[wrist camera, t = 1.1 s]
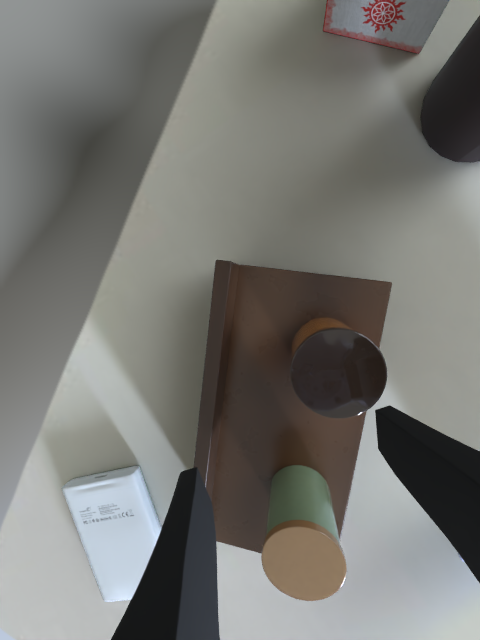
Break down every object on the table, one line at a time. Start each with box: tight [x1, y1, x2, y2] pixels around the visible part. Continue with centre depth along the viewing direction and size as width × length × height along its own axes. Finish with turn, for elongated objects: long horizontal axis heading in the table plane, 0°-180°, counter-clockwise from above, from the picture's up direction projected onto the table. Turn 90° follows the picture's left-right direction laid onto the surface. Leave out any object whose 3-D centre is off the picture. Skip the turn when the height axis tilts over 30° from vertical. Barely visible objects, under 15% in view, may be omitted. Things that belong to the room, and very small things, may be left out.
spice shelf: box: [194, 260, 392, 553], centre depth 21 cm, size 11×22×6 cm, turn 173°
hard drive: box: [62, 466, 162, 602], centre depth 27 cm, size 2×8×12 cm
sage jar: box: [261, 465, 347, 601], centre depth 18 cm, size 5×5×6 cm
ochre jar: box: [290, 317, 387, 418], centre depth 17 cm, size 5×5×6 cm
